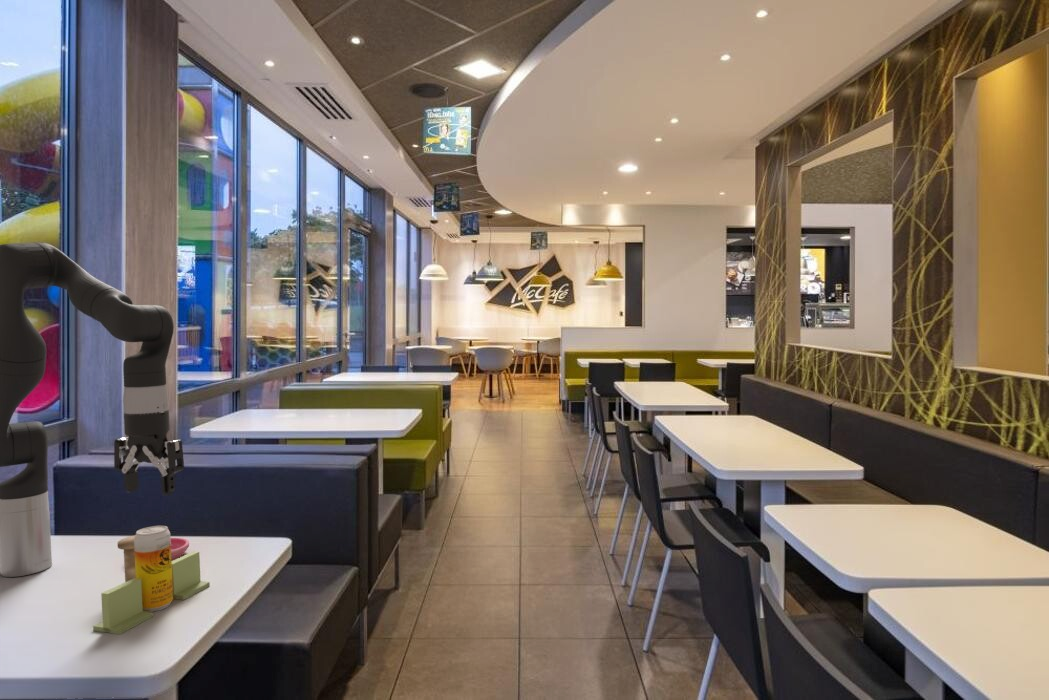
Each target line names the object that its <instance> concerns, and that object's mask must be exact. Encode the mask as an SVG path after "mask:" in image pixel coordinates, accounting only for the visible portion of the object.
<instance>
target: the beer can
mask: <svg viewBox="0 0 1049 700" xmlns="http://www.w3.org/2000/svg"><path fill="white" fill-rule="evenodd" d="M134 536H135V537H134V550H135V572H136V578H138V579H141V587H142V608H143V611H144V612H152V613H153V612H158V611H161V610H163V609H166V608H167V607H169V606H170V605H171V603H172V602H173V600H174V599H173V583H172V561H171V538H172V537H171V532H170V530H169V527H168V526H166V525H153V526H147V527H143V528H140V529H138V530H136V532H135V535H134Z"/></svg>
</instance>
